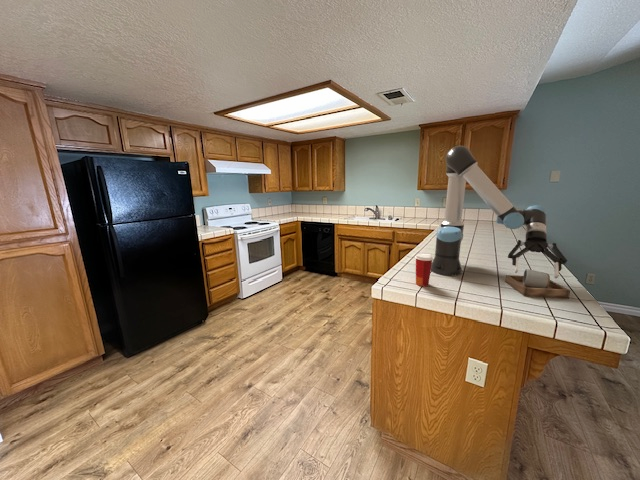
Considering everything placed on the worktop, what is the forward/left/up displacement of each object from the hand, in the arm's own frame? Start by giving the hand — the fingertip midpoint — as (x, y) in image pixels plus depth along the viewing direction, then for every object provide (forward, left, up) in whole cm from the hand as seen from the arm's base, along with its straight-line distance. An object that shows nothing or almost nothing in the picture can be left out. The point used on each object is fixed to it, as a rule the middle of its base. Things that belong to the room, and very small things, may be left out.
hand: (535, 274), depth 111 cm
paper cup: (-47, 0, -7) cm, 47 cm away
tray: (0, 0, -7) cm, 7 cm away
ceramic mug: (+1, +2, -6) cm, 7 cm away
